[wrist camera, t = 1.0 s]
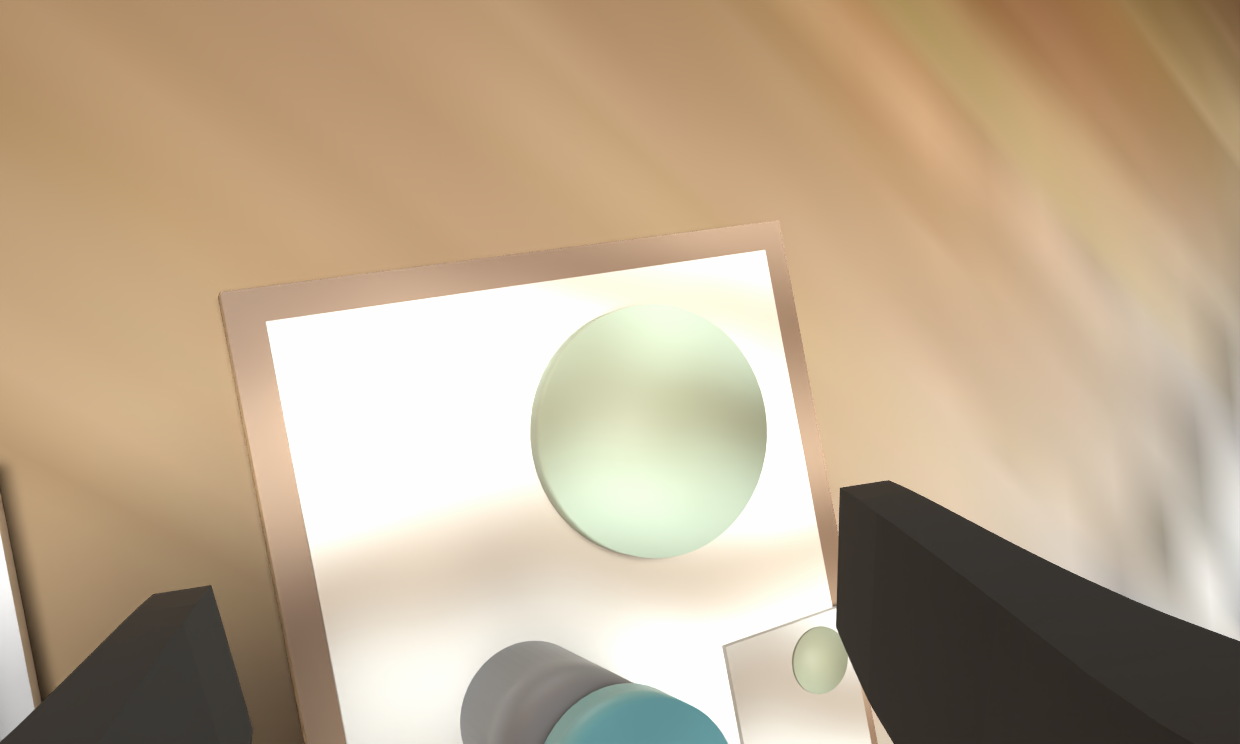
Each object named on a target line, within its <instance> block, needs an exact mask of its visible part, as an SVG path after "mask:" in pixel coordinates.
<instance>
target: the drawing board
mask: <svg viewBox="0 0 1240 744" xmlns="http://www.w3.org/2000/svg"><path fill="white" fill-rule="evenodd" d="M218 300H219V305H220V310H221V315H222V320H223V326H224V331H225V336H226V341H227V346H228V351H229V357H230V362H231V367H232V372H233V377H234V382H235V388H236V393H237V398H238V403H239V408H240V413H241V419H242V424H243V429H244V434H245V439H246V444H247V450H248V455H249V460H250V465H251V470H252V475H253V481H254V486H255V491H256V496H257V501H258V506H259V511H260V517H261V522H262V527H263V532H264V537H265V542H266V548H267V553H268V558H269V563H270V568H271V573H272V579H273V584H274V589H275V594H276V599H277V604H278V610H279V615H280V620H281V625H282V630H283V635H284V641H285V646H286V651H287V656H288V661H289V666H290V672H291V677H292V682H293V687H294V692H295V697H296V703H297V708H298V713H299V718H300V723H301V728H302V734H303V739H304V744H463V741H462V737H461V730H460V714H461V707H462V703H463V699H464V696H465V693H466V691H467V688H468V686H469V684H470V682H471V680H472V679H473V677H474V676H475V674H476V673H477V671H478V670H479V669H480V668H481V667H482V665H483V664H484V663H485V662H486V661H487V660H488V659H490V658H491V657H492V656H493V655H495V654H496V653H497V652H499V651H501V650H502V649H504V648H506V647H508V646H511V645H513V644H516V643H520V642H524V641H545V642H550V643H553V644H556V645H558V646H560V647H562V648H564V649H566V650H568V651H571V652H573V653H575V654H577V655H579V656H581V657H583V658H585V659H587V660H589V661H591V662H593V663H595V664H597V665H599V666H601V667H603V668H605V669H607V670H609V671H611V672H613V673H615V674H617V675H619V676H621V677H623V678H625V679H627V680H629V681H631V682H633V683H638V684H643V685H648V686H651V687H654V688H657V689H659V690H661V691H663V692H665V693H667V694H669V695H671V696H673V697H675V698H677V699H679V700H682V701H684V702H686V703H688V704H690V705H692V706H694V707H695V708H697V709H699V710H701V711H702V712H703V713H705V714H706V715H707V716H708V717H709V718H710V719H711V720H712V721H713V722H714V723H715V724H716V725H717V726H718V728H719V729H720V730H721V732H722V733H723V735H724V737H725V738H726V740H727V742H728V744H878V743H877V737H876V732H875V727H874V722H873V716H872V711H871V706H870V703H869V701H868V699H867V697H866V695H865V693H864V690H863V688H862V686H861V684H860V682H859V680H858V677H857V675H856V673H855V671H854V669H853V666H852V664H851V662H850V659H849V657H848V655H847V652H846V650H845V647H844V645H843V643H842V640H841V638H840V636H839V633H838V631H837V629H836V606H837V573H838V540H839V536H838V531H837V525H836V520H835V515H834V509H833V504H832V499H831V493H830V488H829V483H828V477H827V472H826V467H825V462H824V456H823V451H822V446H821V440H820V435H819V430H818V424H817V419H816V414H815V409H814V403H813V398H812V393H811V387H810V382H809V377H808V371H807V366H806V361H805V355H804V350H803V345H802V340H801V334H800V329H799V324H798V318H797V313H796V308H795V302H794V297H793V292H792V286H791V281H790V276H789V271H788V265H787V260H786V255H785V249H784V244H783V239H782V233H781V228H780V223H779V220H778V221H770V222H762V223H755V224H747V225H739V226H731V227H724V228H716V229H708V230H700V231H692V232H685V233H677V234H669V235H661V236H654V237H646V238H638V239H630V240H622V241H615V242H607V243H599V244H591V245H584V246H576V247H568V248H560V249H552V250H545V251H537V252H529V253H521V254H514V255H506V256H498V257H490V258H482V259H475V260H467V261H459V262H451V263H444V264H436V265H428V266H420V267H413V268H405V269H397V270H389V271H381V272H374V273H366V274H358V275H350V276H343V277H335V278H327V279H319V280H311V281H304V282H296V283H288V284H280V285H273V286H265V287H257V288H249V289H241V290H234V291H226V292H220V293H219V296H218Z"/></svg>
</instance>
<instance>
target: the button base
mask: <svg viewBox="0 0 1240 744" xmlns="http://www.w3.org/2000/svg"><path fill="white" fill-rule="evenodd" d="M41 703H42V702H41V697H40V692H39V687H38V682H37V677H36V671H35V666H34V661H33V656H32V651H31V646H30V641H29V636H28V631H27V626H26V620H25V615H24V610H23V605H22V600H21V595H20V590H19V585H18V580H17V574H16V569H15V564H14V559H13V554H12V549H11V544H10V539H9V534H8V529H7V523H6V518H5V513H4V508H3V503H2V498H1V493H0V741H1V740H3V739H4V738H5V737H6V736H7V735H8V734H9V733H10V732H11V731H13V730H14V729H15V728H16V727H17V726H18V725H19V724H20V723H21V722H22V721H23V720H24V719H25V718H26V717H27V716H28V715H29V714H30V713H31V712H32V711H33V710H34V709H35V708H36V707H37V706H39V705H40V704H41Z"/></svg>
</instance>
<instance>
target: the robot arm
mask: <svg viewBox="0 0 1240 744" xmlns="http://www.w3.org/2000/svg"><path fill="white" fill-rule="evenodd" d="M836 629H837V631H838V633H839V636H840V638H841V640H842V643H843V645H844V647H845V650H846V652H847V655H848V657H849V659H850V662H851V664H852V666H853V669H854V671H855V673H856V675H857V677H858V680H859V682H860V684H861V686H862V688H863V690H864V693H865V695H866V697H867V699H868V701H869V703H870V705H871V706H872V708H873V710H874V711H875V713H876V715H877V716H878V718H879V720H880V722H881V723H882V725H883V726H884V728H885V730H886V731H887V733H888V735H889V736H890V738H891V740H892V741H893V743H894V744H1240V641H1237V640H1235V639H1232V638H1229V637H1226V636H1224V635H1221V634H1218V633H1216V632H1213V631H1210V630H1208V629H1205V628H1202V627H1200V626H1197V625H1194V624H1192V623H1189V622H1186V621H1184V620H1181V619H1178V618H1176V617H1173V616H1170V615H1168V614H1165V613H1163V612H1160V611H1158V610H1155V609H1153V608H1150V607H1148V606H1146V605H1143V604H1141V603H1138V602H1136V601H1134V600H1131V599H1129V598H1127V597H1125V596H1122V595H1120V594H1118V593H1116V592H1113V591H1111V590H1109V589H1107V588H1105V587H1102V586H1100V585H1098V584H1096V583H1093V582H1091V581H1089V580H1087V579H1085V578H1082V577H1080V576H1078V575H1076V574H1074V573H1072V572H1070V571H1067V570H1065V569H1063V568H1061V567H1059V566H1057V565H1055V564H1053V563H1051V562H1049V561H1047V560H1045V559H1043V558H1041V557H1039V556H1037V555H1035V554H1033V553H1031V552H1029V551H1027V550H1025V549H1023V548H1021V547H1019V546H1017V545H1015V544H1013V543H1011V542H1009V541H1007V540H1005V539H1003V538H1001V537H999V536H998V535H996V534H994V533H992V532H990V531H988V530H986V529H984V528H982V527H980V526H978V525H977V524H975V523H973V522H971V521H969V520H967V519H965V518H963V517H961V516H960V515H958V514H956V513H954V512H952V511H950V510H948V509H946V508H944V507H943V506H941V505H939V504H937V503H935V502H933V501H931V500H929V499H927V498H925V497H923V496H921V495H919V494H917V493H915V492H913V491H911V490H909V489H907V488H905V487H903V486H901V485H898V484H896V483H894V482H891V481H889V480H888V481H881V482H875V483H868V484H862V485H856V486H849V487H843V488H840V506H839V540H838V573H837V606H836ZM252 732H253V728H252V725H251V721H250V718H249V714H248V711H247V707H246V704H245V700H244V697H243V694H242V690H241V687H240V683H239V680H238V676H237V673H236V669H235V666H234V662H233V659H232V655H231V652H230V649H229V645H228V642H227V638H226V635H225V631H224V628H223V624H222V621H221V617H220V614H219V610H218V607H217V604H216V600H215V597H214V593H213V590H212V586H211V585H210V586H204V587H197V588H191V589H184V590H178V591H171V592H165V593H159V594H153V595H152V596H151V597H149V598H148V599H147V600H146V601H145V602H144V603H143V604H142V605H140V606H139V607H138V608H137V609H136V610H135V611H134V612H133V613H132V614H131V615H130V616H129V617H128V618H127V619H126V620H125V621H124V622H123V623H122V624H121V625H120V626H119V627H118V628H117V629H116V630H115V631H114V632H113V633H112V634H111V635H110V636H109V637H108V638H107V639H106V640H105V641H104V642H103V643H102V644H100V645H99V646H98V647H97V648H96V649H95V650H94V651H93V652H92V653H91V654H90V655H89V656H88V657H87V658H86V659H85V660H84V661H83V662H82V663H81V664H80V665H79V666H78V667H77V668H76V669H75V670H74V671H73V672H72V673H71V674H70V675H69V676H68V677H67V678H66V679H65V680H64V681H63V682H62V683H61V684H60V685H59V686H58V687H57V688H56V689H55V690H54V691H53V692H52V693H51V694H50V695H49V696H48V697H47V698H46V699H45V700H44V701H43V702H42V703H41V704H40V705H39V706H37V707H36V708H35V709H34V710H33V711H32V712H31V713H30V714H29V715H28V716H27V717H26V718H25V719H24V720H23V721H22V722H21V723H20V724H19V725H18V726H17V727H16V728H15V729H14V730H13V731H11V732H10V733H9V734H8V735H7V736H6V737H5V738H4V739H3V740H1V741H0V744H251V742H252Z"/></svg>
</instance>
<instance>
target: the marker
mask: <svg viewBox="0 0 1240 744" xmlns="http://www.w3.org/2000/svg"><path fill="white" fill-rule="evenodd" d="M460 730H461V737H462V741H463V744H728V742H727V740H726V738H725V737H724V735H723V733H722V732H721V730H720V729H719V728H718V726H717V725H716V724H715V723H714V722H713V721H712V720H711V719H710V718H709V717H708V716H707V715H706V714H705V713H703V712H702V711H701V710H699V709H697V708H695V707H694V706H692V705H690V704H688V703H686V702H684V701H682V700H679V699H677V698H675V697H673V696H671V695H669V694H667V693H665V692H663V691H661V690H659V689H657V688H654V687H651V686H648V685H643V684H638V683H633V682H631V681H629V680H627V679H625V678H623V677H621V676H619V675H617V674H615V673H613V672H611V671H609V670H607V669H605V668H603V667H601V666H599V665H597V664H595V663H593V662H591V661H589V660H587V659H585V658H583V657H581V656H579V655H577V654H575V653H573V652H571V651H568V650H566V649H564V648H562V647H560V646H558V645H556V644H553V643H550V642H545V641H524V642H520V643H516V644H513V645H511V646H508V647H506V648H504V649H502V650H501V651H499V652H497V653H496V654H495V655H493V656H492V657H491V658H490V659H488V660H487V661H486V662H485V663H484V664H483V665H482V667H481V668H480V669H479V670H478V671H477V673H476V674H475V676H474V677H473V679H472V680H471V682H470V684H469V686H468V688H467V691H466V693H465V696H464V699H463V703H462V707H461V714H460Z"/></svg>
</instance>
